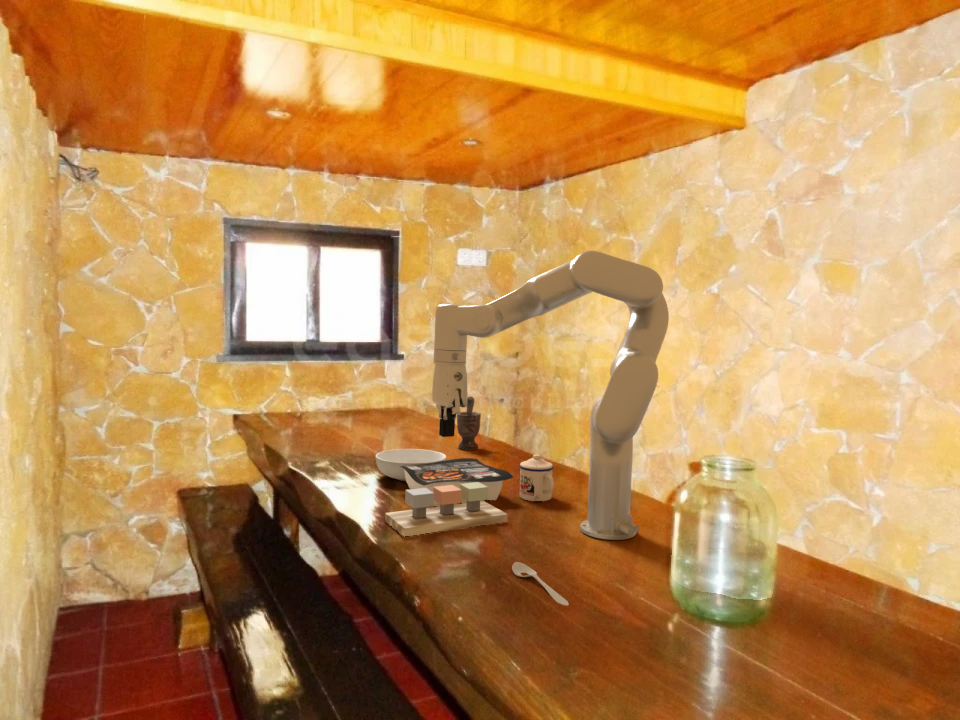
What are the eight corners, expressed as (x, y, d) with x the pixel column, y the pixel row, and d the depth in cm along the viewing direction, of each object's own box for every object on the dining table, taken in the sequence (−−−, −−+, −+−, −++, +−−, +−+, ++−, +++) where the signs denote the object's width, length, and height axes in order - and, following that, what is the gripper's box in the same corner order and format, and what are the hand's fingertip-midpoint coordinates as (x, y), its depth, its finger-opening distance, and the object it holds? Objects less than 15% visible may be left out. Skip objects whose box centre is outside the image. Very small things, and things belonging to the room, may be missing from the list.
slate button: (433, 518, 149) (434, 493, 149) (413, 520, 147) (413, 495, 147) (424, 511, 154) (425, 487, 153) (404, 514, 152) (405, 489, 151)
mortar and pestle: (487, 452, 234) (488, 396, 233) (465, 453, 230) (466, 397, 229) (474, 445, 245) (475, 392, 243) (452, 447, 241) (453, 393, 240)
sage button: (487, 510, 156) (487, 486, 156) (468, 513, 154) (469, 489, 153) (477, 505, 160) (478, 481, 160) (459, 507, 158) (459, 483, 158)
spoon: (524, 568, 128) (525, 559, 128) (586, 612, 110) (586, 602, 110) (506, 571, 126) (506, 563, 126) (565, 616, 108) (566, 607, 108)
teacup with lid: (512, 495, 178) (513, 453, 178) (539, 491, 183) (540, 450, 182) (537, 506, 168) (539, 462, 167) (565, 502, 173) (567, 459, 172)
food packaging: (424, 482, 161) (395, 463, 181) (423, 512, 161) (395, 489, 182) (513, 474, 172) (477, 456, 192) (513, 502, 172) (476, 482, 192)
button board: (507, 522, 155) (507, 514, 155) (404, 537, 143) (404, 528, 142) (483, 508, 165) (483, 500, 165) (385, 521, 153) (385, 512, 153)
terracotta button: (460, 514, 153) (461, 489, 152) (441, 517, 150) (442, 492, 150) (451, 508, 157) (452, 484, 157) (432, 511, 155) (433, 486, 154)
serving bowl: (455, 484, 189) (456, 460, 188) (384, 489, 181) (384, 464, 181) (433, 467, 208) (434, 446, 208) (368, 472, 200) (368, 449, 200)
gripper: (479, 360, 147) (475, 441, 148) (450, 355, 160) (447, 429, 161) (449, 360, 143) (445, 443, 144) (422, 355, 156) (419, 431, 157)
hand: (446, 435), depth 153 cm, fingers closed
